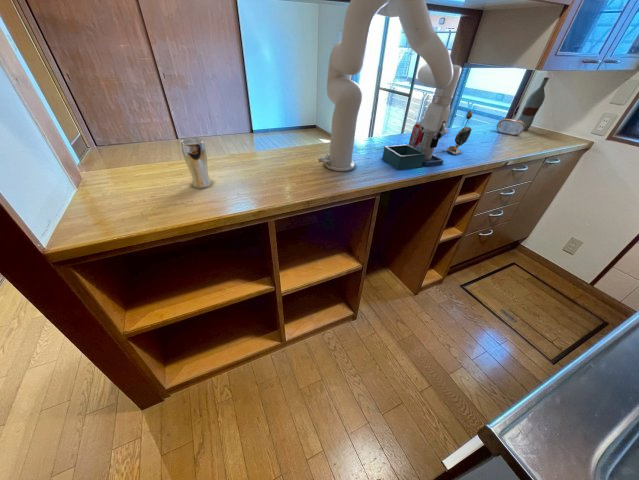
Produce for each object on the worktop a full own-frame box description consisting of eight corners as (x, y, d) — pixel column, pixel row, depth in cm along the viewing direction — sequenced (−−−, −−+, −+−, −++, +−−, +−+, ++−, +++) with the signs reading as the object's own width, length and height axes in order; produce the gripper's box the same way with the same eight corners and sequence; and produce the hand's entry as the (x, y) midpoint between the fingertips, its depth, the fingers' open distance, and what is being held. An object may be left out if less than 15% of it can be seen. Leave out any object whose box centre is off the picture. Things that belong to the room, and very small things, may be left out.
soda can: (422, 151, 132) (430, 126, 125) (408, 149, 133) (414, 124, 126) (421, 146, 138) (428, 122, 130) (407, 145, 138) (413, 121, 131)
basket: (397, 170, 112) (401, 156, 108) (381, 158, 121) (384, 146, 118) (421, 167, 116) (425, 154, 112) (404, 156, 125) (407, 144, 122)
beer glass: (188, 183, 93) (176, 140, 83) (207, 178, 97) (197, 136, 87) (197, 190, 89) (185, 146, 80) (216, 184, 93) (207, 141, 83)
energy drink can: (432, 161, 120) (443, 127, 111) (419, 160, 120) (429, 126, 111) (427, 156, 125) (438, 123, 116) (415, 156, 125) (425, 122, 116)
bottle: (515, 126, 184) (539, 76, 165) (529, 129, 179) (556, 78, 160) (511, 128, 178) (536, 77, 160) (526, 131, 174) (554, 79, 155)
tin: (520, 135, 165) (527, 121, 160) (520, 137, 163) (527, 122, 158) (494, 131, 171) (500, 117, 166) (493, 132, 169) (500, 118, 163)
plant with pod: (468, 153, 134) (486, 110, 121) (452, 155, 130) (468, 111, 117) (456, 147, 139) (471, 106, 127) (440, 149, 135) (454, 107, 123)
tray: (424, 166, 116) (426, 162, 115) (405, 155, 126) (406, 151, 125) (442, 164, 119) (443, 160, 118) (422, 153, 130) (423, 149, 128)
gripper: (420, 96, 112) (409, 139, 124) (449, 105, 100) (434, 152, 111) (434, 96, 115) (422, 138, 126) (464, 105, 102) (447, 151, 114)
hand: (427, 144), depth 119 cm, fingers closed on energy drink can, 6 cm apart
